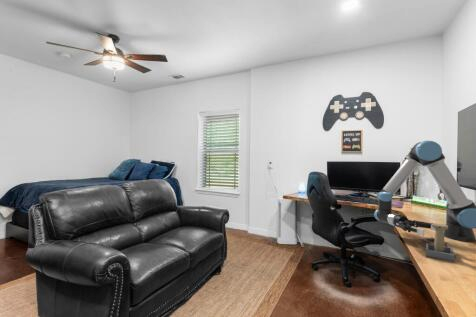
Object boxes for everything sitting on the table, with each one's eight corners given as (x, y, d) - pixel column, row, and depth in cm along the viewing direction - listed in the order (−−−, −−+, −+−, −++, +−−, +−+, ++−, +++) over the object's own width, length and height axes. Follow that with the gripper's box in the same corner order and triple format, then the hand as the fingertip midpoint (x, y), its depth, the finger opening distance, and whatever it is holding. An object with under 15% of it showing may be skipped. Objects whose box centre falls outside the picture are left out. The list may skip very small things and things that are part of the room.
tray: (426, 249, 130) (426, 243, 130) (451, 254, 123) (452, 247, 123) (426, 256, 121) (426, 250, 120) (454, 262, 114) (454, 255, 114)
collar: (432, 242, 140) (432, 237, 140) (447, 247, 132) (447, 242, 132) (419, 243, 138) (419, 238, 138) (434, 249, 130) (434, 244, 130)
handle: (431, 250, 126) (431, 222, 126) (447, 254, 122) (448, 225, 121) (431, 253, 122) (431, 224, 122) (447, 257, 118) (448, 227, 118)
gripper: (414, 225, 148) (452, 236, 127) (381, 228, 142) (414, 240, 121) (414, 213, 148) (452, 222, 127) (381, 215, 142) (414, 226, 121)
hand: (434, 231), depth 124 cm, fingers open, 13 cm apart
